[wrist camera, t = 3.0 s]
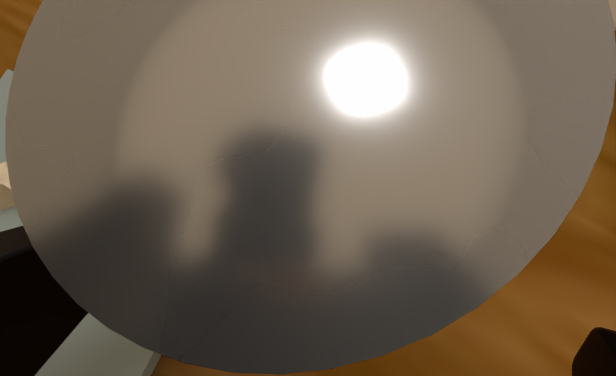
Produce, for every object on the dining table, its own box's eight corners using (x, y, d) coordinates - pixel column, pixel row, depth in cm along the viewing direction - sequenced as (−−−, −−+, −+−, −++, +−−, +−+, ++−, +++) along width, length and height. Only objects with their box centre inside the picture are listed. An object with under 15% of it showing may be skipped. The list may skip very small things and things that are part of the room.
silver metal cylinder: (394, 337, 15) (454, 557, 2) (294, 284, 16) (-96, 193, 3) (438, 233, 16) (702, -136, 3) (340, 191, 17) (182, -202, 4)
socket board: (59, 547, 15) (-10, 598, 12) (-162, 341, 20) (-247, 346, 17) (253, 182, 18) (230, 160, 15) (20, 77, 23) (-29, 46, 20)
